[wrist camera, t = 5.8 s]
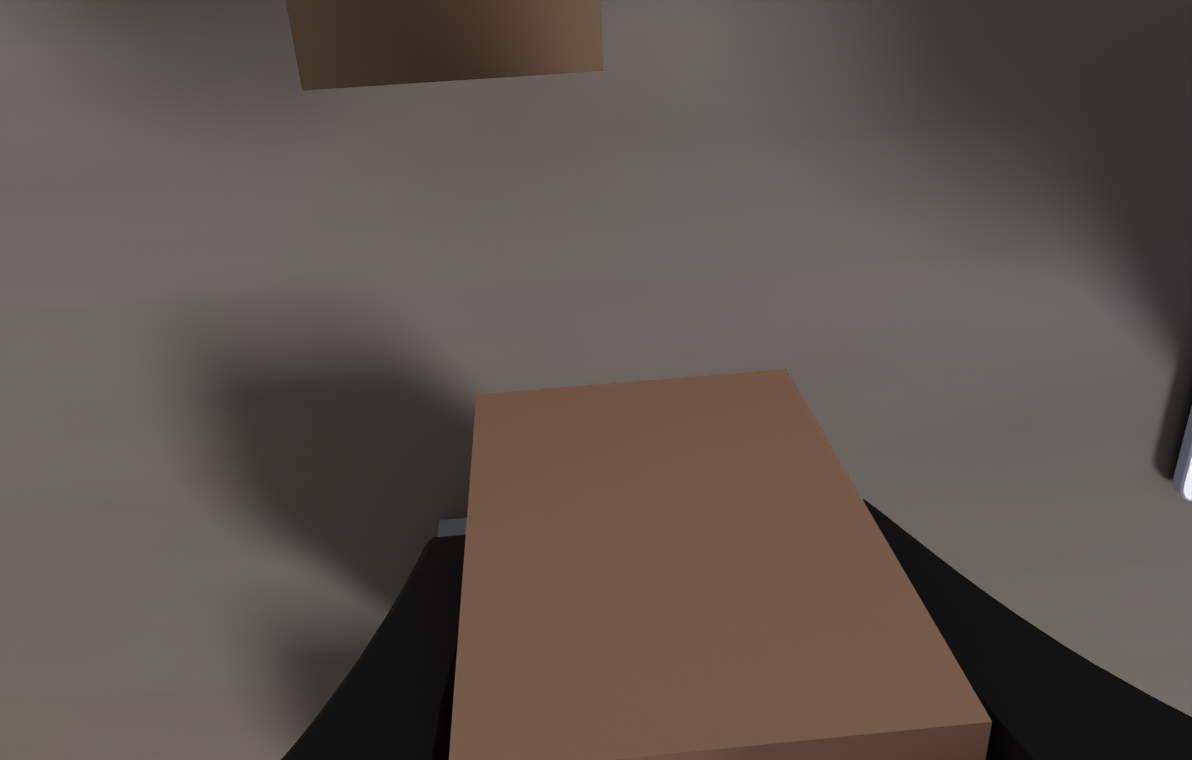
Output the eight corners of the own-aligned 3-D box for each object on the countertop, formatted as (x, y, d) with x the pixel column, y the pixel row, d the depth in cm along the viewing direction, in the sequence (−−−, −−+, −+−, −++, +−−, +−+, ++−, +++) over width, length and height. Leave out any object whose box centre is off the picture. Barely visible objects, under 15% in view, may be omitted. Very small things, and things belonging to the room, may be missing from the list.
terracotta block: (786, 369, 12) (992, 721, 7) (776, 612, 14) (935, 1040, 9) (476, 394, 12) (447, 775, 7) (506, 637, 14) (501, 1090, 9)
